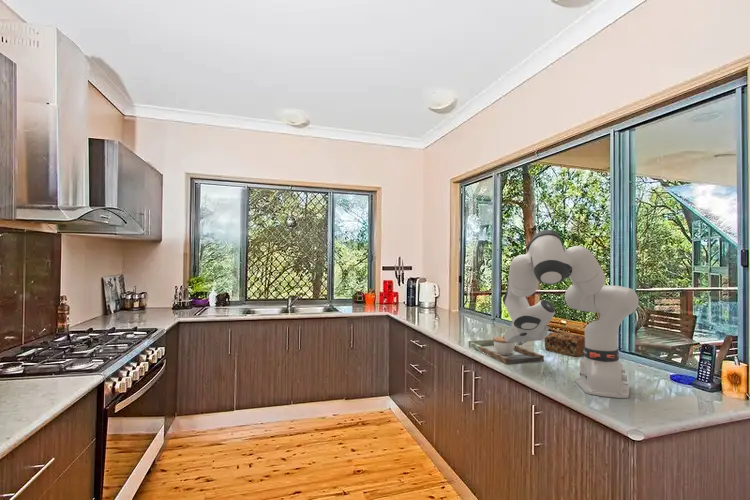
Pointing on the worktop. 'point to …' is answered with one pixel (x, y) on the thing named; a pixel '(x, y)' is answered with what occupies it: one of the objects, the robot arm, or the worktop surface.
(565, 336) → the bread
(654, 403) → the worktop surface
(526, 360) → the wooden serving tray
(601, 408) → the worktop surface
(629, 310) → the robot arm
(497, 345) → the lidded jar
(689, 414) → the worktop surface
